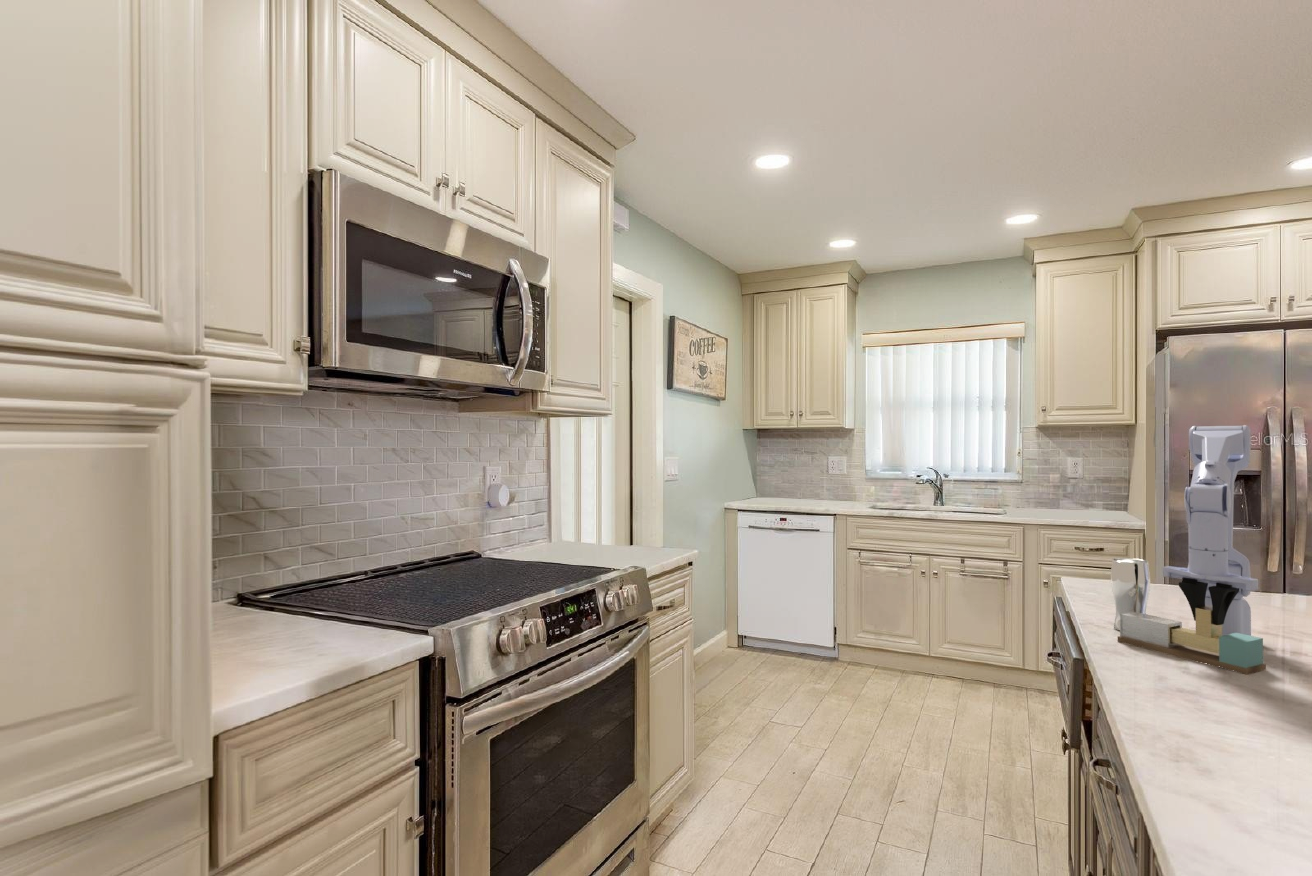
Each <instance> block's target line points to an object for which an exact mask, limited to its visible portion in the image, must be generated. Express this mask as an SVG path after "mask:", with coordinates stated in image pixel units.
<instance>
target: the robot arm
mask: <svg viewBox="0 0 1312 876" xmlns="http://www.w3.org/2000/svg"><path fill="white" fill-rule="evenodd" d="M1251 435H1252V434H1251V427H1250V426H1248V424H1243V425H1213V426H1210V425H1209V426H1208V425H1206V426H1203V425H1202V426H1197V425H1193V426H1191V427H1190V428H1189V430H1188V449H1189V453H1190V459H1191V462H1192V463H1193V466H1194V468H1193V472H1192V477H1191V482H1190V486H1186V487H1185V488H1184V489H1185V490H1184V495H1183V497H1184V498H1183V504H1184V509H1185V514H1186V523H1187V524H1188V533H1187V534H1188V565H1187V567H1182V566H1181V567H1179V566H1171V565H1167V566H1163V567H1162V577H1163V578H1164V577H1165V578H1173V579H1174V578H1175V579H1181V581H1179V582H1178V587H1179V588H1180V590H1181V592H1182V593H1183V595H1184V597H1186V600H1187V602H1188V604H1189V607H1190V610H1191V613H1192V617H1193V620H1194V621H1195V622H1196V609H1195V608H1198V607H1203V606H1210V607H1212V619H1213V625H1222V636H1223V635H1228V634H1233V633H1240V634H1245V635H1250V636H1252V610H1251V605H1250V603H1249V602H1248V601H1247V600H1246V598H1247V597H1248V596H1249V595H1251V592H1254V591H1259V579H1258V578H1253V577H1251V576H1252V575H1251V573H1252V572H1251V564H1250V562H1251V561H1250V560H1249V559H1248V557H1247V556H1246V555H1244V554H1243V553H1242V552H1239V551H1238V550H1237V549H1235V548H1234V545H1233V544H1234V508H1235V507H1234V505H1235V504H1234V498H1235V493H1234V492H1235V480H1236V478H1237V475H1238V472H1239V471H1242V470H1245V469H1247V468H1249V463H1250V462H1251V451H1252V449H1251V448H1252V446H1251V445H1252V438H1251Z"/></svg>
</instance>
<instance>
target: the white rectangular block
mask: <svg viewBox="0 0 1312 876" xmlns="http://www.w3.org/2000/svg"><path fill="white" fill-rule="evenodd" d="M1182 623H1183V622H1182V621H1179V620H1175V619H1170V618H1165V617H1160V616H1156V615H1151V614H1142V613H1138V612H1128V613H1122V614H1120V631H1119V636H1122V637H1126V638H1130V639H1134V640H1138V641H1142V642H1146V643H1150V644H1154V645H1158V646H1162V647H1166V648H1171V647H1175V646H1180V645H1181V644H1177V643H1173V642H1170V627H1174V626H1177V627H1181V628H1183V625H1182Z"/></svg>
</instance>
